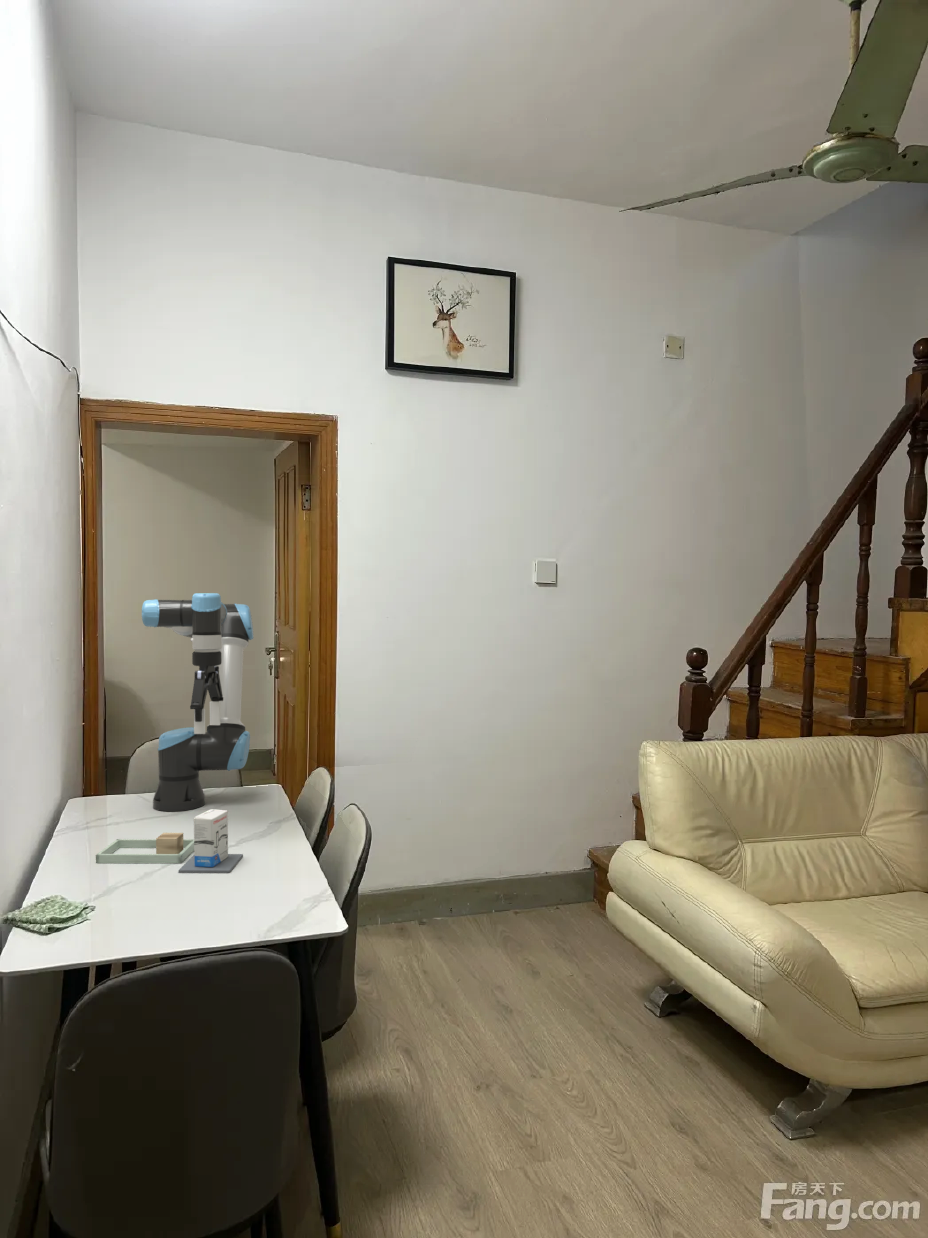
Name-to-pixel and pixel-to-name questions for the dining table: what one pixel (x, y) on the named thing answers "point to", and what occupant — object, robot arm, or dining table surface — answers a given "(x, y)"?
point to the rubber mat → (221, 867)
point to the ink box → (210, 838)
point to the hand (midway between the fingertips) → (207, 729)
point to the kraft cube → (169, 843)
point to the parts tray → (108, 857)
